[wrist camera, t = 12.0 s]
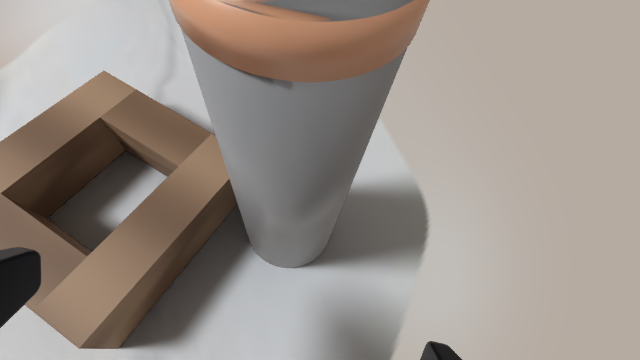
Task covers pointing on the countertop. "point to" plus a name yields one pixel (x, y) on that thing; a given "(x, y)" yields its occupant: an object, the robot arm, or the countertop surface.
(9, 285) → the robot arm
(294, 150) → the plug
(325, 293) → the countertop surface
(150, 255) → the brown square frame
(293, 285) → the countertop surface
